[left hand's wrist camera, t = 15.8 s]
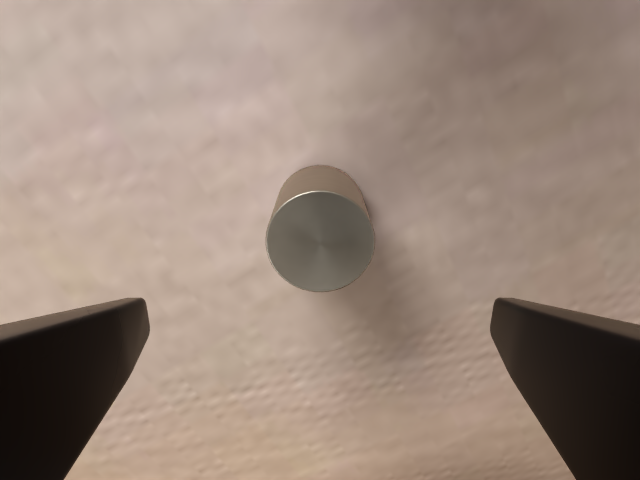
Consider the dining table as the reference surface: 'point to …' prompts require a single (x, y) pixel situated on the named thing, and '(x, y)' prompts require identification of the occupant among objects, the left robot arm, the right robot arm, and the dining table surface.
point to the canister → (320, 230)
